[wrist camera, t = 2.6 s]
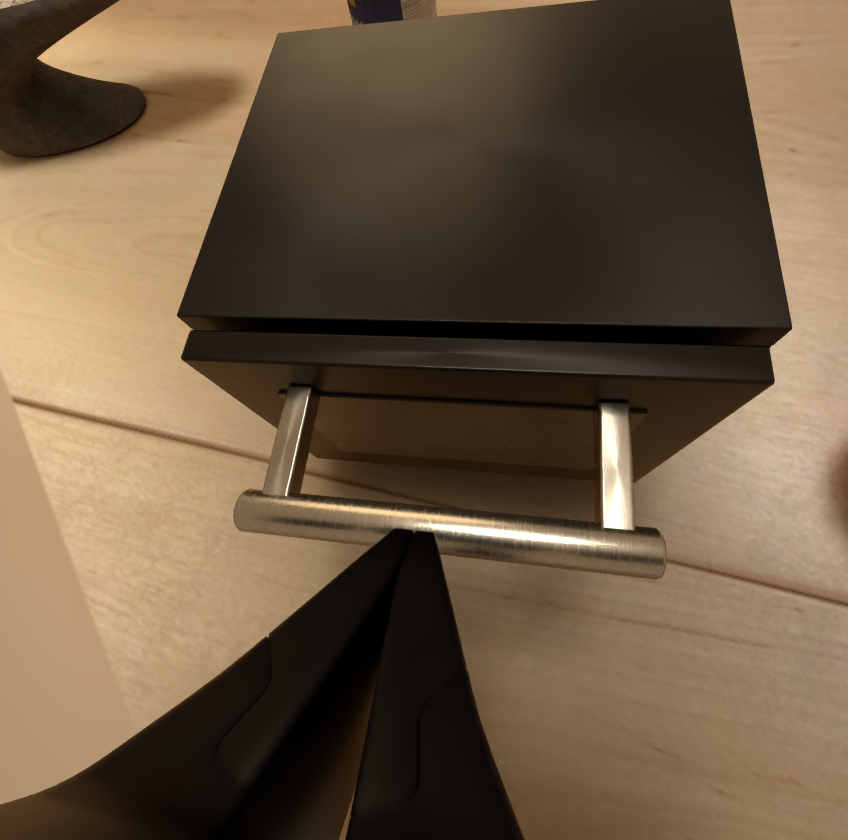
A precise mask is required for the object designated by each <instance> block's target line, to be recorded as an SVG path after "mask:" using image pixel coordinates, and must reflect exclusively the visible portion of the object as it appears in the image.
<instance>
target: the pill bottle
mask: <svg viewBox="0 0 848 840" xmlns="http://www.w3.org/2000/svg"><path fill="white" fill-rule="evenodd" d="M347 2H348V6H349V10H350V14H351V19H352V23H353V25H363V24H373V23H382V22H392V21H401V20H411V19H421V18H430V17H437V11H436V1H435V0H347Z"/></svg>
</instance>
